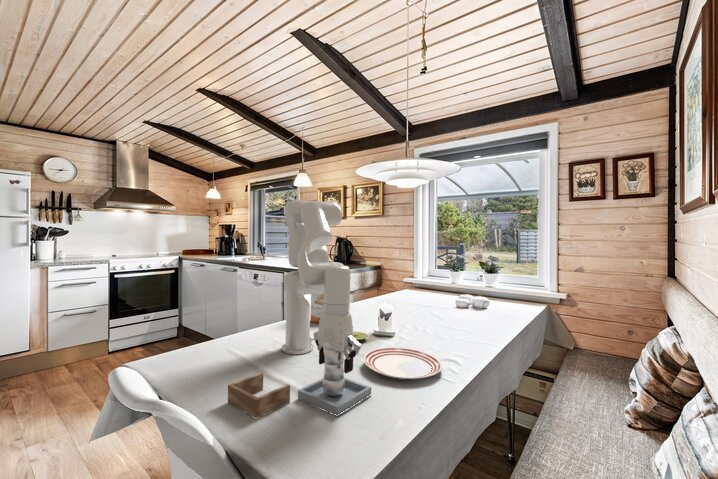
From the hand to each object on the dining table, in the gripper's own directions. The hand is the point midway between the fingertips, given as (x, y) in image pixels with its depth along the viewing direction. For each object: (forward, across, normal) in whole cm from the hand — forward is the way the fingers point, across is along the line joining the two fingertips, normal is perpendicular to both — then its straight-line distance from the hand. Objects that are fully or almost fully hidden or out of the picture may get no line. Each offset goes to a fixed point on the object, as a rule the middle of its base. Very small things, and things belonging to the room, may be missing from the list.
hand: (335, 367), depth 100 cm
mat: (+9, -28, +45) cm, 54 cm away
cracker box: (+9, -58, +57) cm, 82 cm away
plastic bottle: (+8, -1, 0) cm, 8 cm away
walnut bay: (+9, -14, -16) cm, 23 cm away
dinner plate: (+9, +4, +31) cm, 33 cm away
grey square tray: (+9, 0, 0) cm, 9 cm away
